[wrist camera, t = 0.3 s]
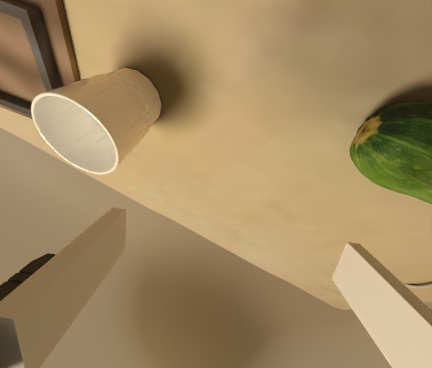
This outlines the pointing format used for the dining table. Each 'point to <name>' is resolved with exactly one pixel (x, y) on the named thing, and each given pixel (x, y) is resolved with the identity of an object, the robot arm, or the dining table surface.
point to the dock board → (33, 52)
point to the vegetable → (397, 149)
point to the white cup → (97, 118)
